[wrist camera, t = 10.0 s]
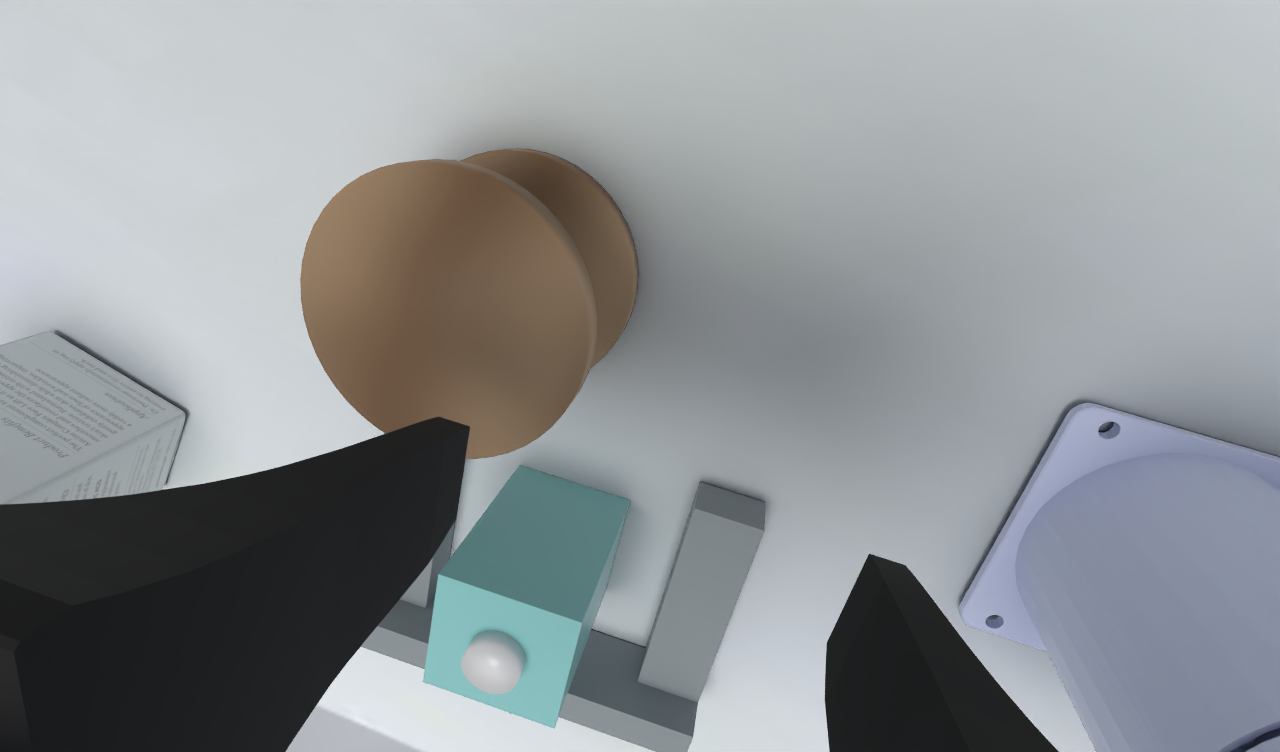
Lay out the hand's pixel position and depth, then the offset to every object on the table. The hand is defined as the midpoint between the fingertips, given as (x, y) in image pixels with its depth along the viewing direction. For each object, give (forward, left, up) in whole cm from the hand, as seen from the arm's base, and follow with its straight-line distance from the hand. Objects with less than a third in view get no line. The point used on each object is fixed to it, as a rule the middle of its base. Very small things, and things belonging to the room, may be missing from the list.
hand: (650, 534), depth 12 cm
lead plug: (+3, +8, -10) cm, 13 cm away
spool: (+6, -1, -9) cm, 11 cm away
